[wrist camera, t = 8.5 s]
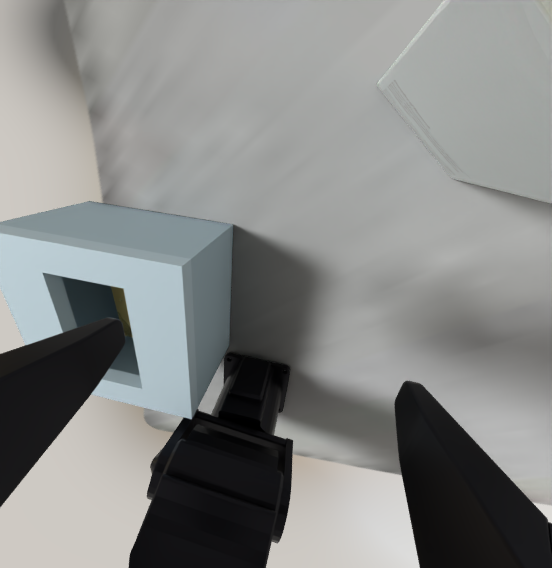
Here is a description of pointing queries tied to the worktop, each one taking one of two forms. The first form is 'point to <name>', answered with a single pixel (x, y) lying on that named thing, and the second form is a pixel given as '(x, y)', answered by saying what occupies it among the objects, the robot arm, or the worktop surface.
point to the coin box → (127, 293)
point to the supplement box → (482, 92)
